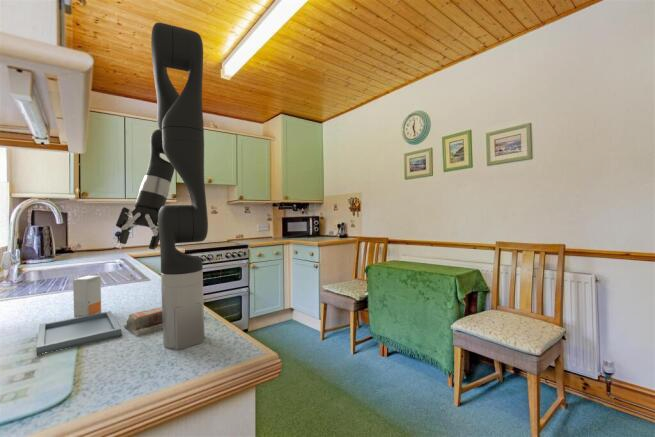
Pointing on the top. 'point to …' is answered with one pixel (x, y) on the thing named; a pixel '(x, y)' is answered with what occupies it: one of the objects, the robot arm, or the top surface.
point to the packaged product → (145, 321)
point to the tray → (76, 332)
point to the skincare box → (87, 296)
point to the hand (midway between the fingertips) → (137, 246)
